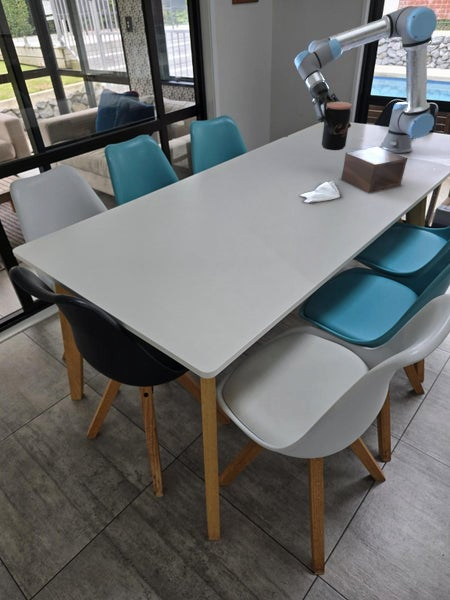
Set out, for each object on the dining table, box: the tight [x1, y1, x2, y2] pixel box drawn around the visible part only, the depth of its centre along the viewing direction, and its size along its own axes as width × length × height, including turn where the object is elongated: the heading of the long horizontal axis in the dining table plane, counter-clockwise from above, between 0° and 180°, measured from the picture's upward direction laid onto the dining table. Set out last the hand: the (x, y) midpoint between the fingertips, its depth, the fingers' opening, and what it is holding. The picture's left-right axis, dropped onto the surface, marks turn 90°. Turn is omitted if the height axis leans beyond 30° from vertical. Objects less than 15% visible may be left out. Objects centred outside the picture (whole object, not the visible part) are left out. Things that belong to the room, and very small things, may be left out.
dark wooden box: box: [340, 146, 408, 194], centre depth 180 cm, size 18×18×12 cm
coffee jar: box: [321, 101, 353, 151], centre depth 182 cm, size 11×11×18 cm
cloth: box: [299, 180, 341, 204], centre depth 173 cm, size 26×14×2 cm, turn 136°
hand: (341, 130), depth 181 cm, fingers closed on coffee jar, 11 cm apart
